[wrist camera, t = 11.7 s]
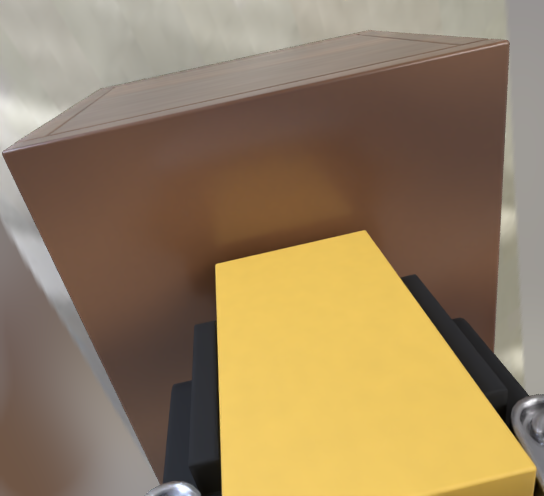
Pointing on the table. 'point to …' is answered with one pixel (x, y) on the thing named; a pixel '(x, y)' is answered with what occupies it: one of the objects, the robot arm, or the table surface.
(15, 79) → the table surface
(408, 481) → the chalk box
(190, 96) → the cabinet
